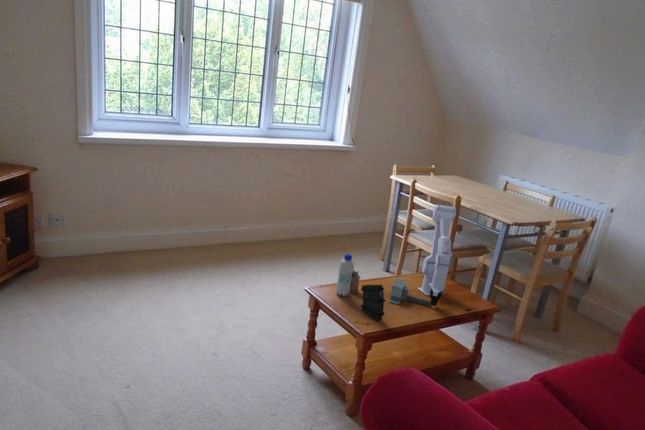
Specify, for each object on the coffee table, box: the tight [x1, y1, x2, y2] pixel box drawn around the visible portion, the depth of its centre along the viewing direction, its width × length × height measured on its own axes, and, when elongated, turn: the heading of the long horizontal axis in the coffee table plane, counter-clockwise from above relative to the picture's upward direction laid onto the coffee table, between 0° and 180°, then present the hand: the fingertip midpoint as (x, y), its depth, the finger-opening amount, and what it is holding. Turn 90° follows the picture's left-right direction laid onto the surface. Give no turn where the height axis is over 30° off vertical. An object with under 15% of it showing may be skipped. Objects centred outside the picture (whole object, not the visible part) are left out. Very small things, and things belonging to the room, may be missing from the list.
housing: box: [387, 278, 408, 305], centre depth 229 cm, size 5×16×7 cm, turn 160°
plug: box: [401, 286, 437, 309], centre depth 227 cm, size 17×3×5 cm, turn 70°
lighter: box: [349, 269, 361, 293], centre depth 229 cm, size 8×3×10 cm, turn 84°
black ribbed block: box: [360, 284, 386, 322], centre depth 208 cm, size 4×13×15 cm, turn 34°
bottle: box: [335, 253, 355, 297], centre depth 222 cm, size 7×7×20 cm
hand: (433, 304), depth 225 cm, fingers closed on plug, 2 cm apart
